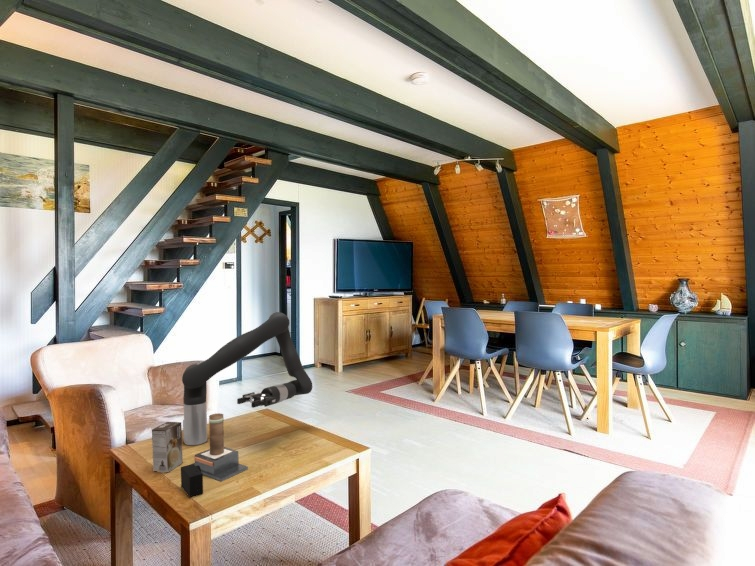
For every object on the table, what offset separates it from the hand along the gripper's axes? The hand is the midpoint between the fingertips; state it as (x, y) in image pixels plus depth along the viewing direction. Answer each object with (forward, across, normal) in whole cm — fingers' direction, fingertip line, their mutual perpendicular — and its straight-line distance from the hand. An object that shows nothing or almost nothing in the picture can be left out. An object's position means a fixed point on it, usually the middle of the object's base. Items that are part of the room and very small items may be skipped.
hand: (244, 403), depth 187 cm
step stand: (+15, +2, +21) cm, 26 cm away
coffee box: (+24, -15, +22) cm, 36 cm away
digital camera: (+29, +9, +21) cm, 37 cm away
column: (+15, +2, +15) cm, 21 cm away
